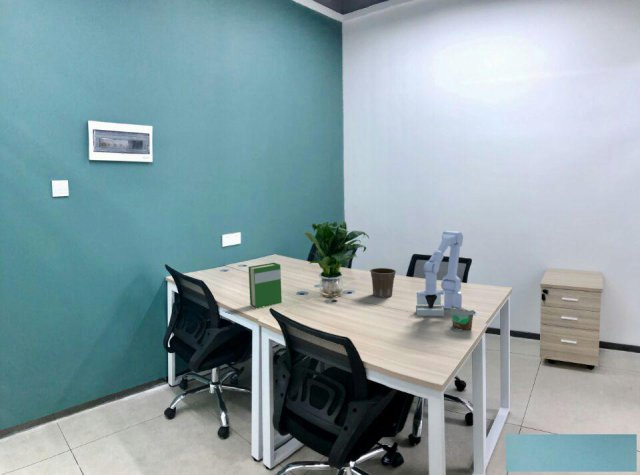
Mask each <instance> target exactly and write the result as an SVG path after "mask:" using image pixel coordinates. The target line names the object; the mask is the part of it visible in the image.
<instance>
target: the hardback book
mask: <svg viewBox="0 0 640 475" xmlns="http://www.w3.org/2000/svg"><path fill="white" fill-rule="evenodd" d="M281 275H282V273H281V264H279V263H277V262H271V263H264V264H257V265H252V266H248V283H249V284H248V285H249V286H248V288H249V306H250V305H253V307H255V309H256V308H257V309H260V308H259V307H261V308H264V307H263V306H265V307H269V306H273V305H274V306H275V305H278V304H282V276H281Z"/></svg>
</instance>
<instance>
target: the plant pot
mask: <svg viewBox="0 0 640 475" xmlns="http://www.w3.org/2000/svg"><path fill="white" fill-rule="evenodd" d="M369 272H370V275H371V276H370V277H371V283H372V284H371V285H372V294H373V296H376V298H377V297H378V298H388V297H389V298H390V297H392V296H393V290H394V282H395V276H396V272H397V270H395V269H393V268H387V267H386V268H385V267H377V268H375V267H374V268H372V269H370V270H369Z"/></svg>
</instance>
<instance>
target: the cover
mask: <svg viewBox="0 0 640 475" xmlns="http://www.w3.org/2000/svg"><path fill="white" fill-rule="evenodd" d="M436 296H437V299H436V300H435V302H434V305H433V306H442V303H441V302H442V299H441V298H442V294H440V295H436ZM416 305H428V303H427V300H426V298H425V296H421V297H419V296H418V292H416Z"/></svg>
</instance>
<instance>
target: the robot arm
mask: <svg viewBox="0 0 640 475" xmlns="http://www.w3.org/2000/svg"><path fill="white" fill-rule="evenodd" d="M463 239H464V235H463V233H462V232H461V231H453V230H452V231H451V230H444V231H443V232H442V235H441V242H440V244H439V246H438V248H437V250H434V251H433V253H432V254H431V257H430V258H429V259H428V261H426V262H425V263H424V265H423V267H422V268H423V271H424V276H425V285H424V286H425V290H422V291H418V292H417V293H418V296H419V297H421V296H425V298H426V300H427V303H428V307H429V308H430V309H433V306H435V305H434V302H435V300H436V299H437V296H436V295H440V294H441V296H443V297H444V298H443V303H441V306H442V307H443V309H447V310H448V309H449V310H450V309H451V306H452V305H453V307H456V308H462V304H463V303H462V302H463V301H462V300H463V299H462V297H463V295H462V292H461V289H462V284H461V283H462V279H461V278H460V277H459V276H458V266H459V260H460V259H459V258H460V251H461V250H460V249H461V247H462V246H463V242H464V240H463ZM448 247H449V248H450V249H449V256H448V267H447V274H446V275H444V276H443V277H442V281H441V284H440V286H441V289H439V290H438V289H437V282H438V281H437V280H438V279H437V277H438V276H437V275H438V274H437V273H438V272H439V271H440V266H441V262H442V261H443V259H444V257H445V256H444V254H445V252H446V250H447V249H448Z"/></svg>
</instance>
